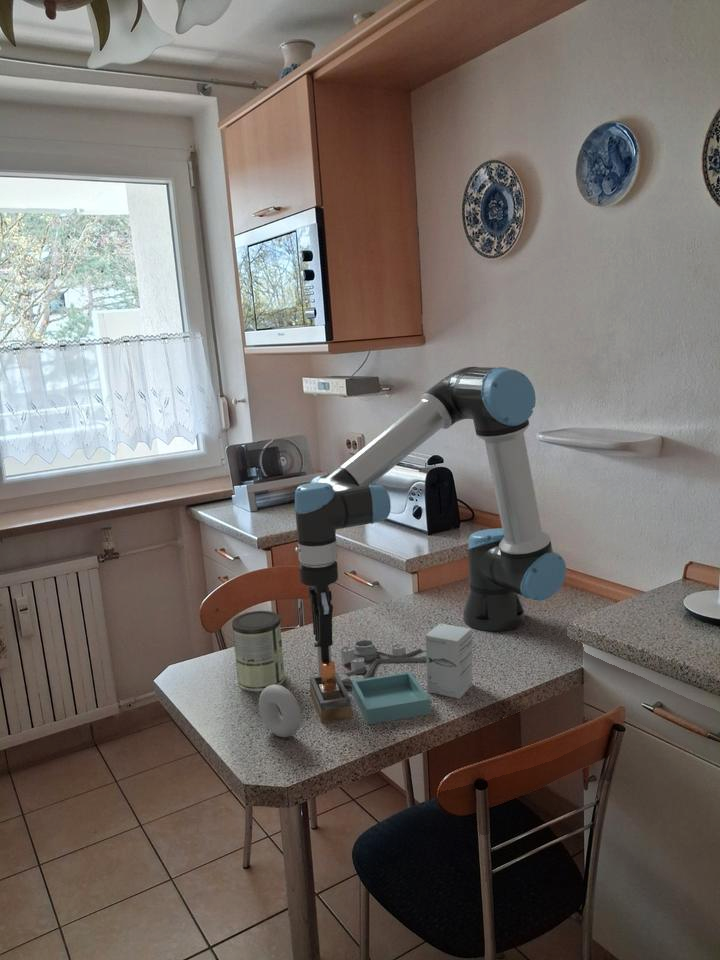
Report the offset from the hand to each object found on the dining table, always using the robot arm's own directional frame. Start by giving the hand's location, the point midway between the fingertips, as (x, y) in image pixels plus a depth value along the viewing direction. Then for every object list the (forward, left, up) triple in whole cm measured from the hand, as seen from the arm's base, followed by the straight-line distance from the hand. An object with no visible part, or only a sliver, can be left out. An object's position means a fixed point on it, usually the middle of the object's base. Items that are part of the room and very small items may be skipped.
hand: (325, 673), depth 156 cm
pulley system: (-14, -13, -6) cm, 20 cm away
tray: (-12, +7, -6) cm, 14 cm away
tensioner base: (0, +3, -6) cm, 6 cm away
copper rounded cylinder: (0, +3, -3) cm, 4 cm away
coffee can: (+12, -13, -6) cm, 18 cm away
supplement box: (-25, +4, -6) cm, 26 cm away
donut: (+11, +11, -6) cm, 17 cm away
